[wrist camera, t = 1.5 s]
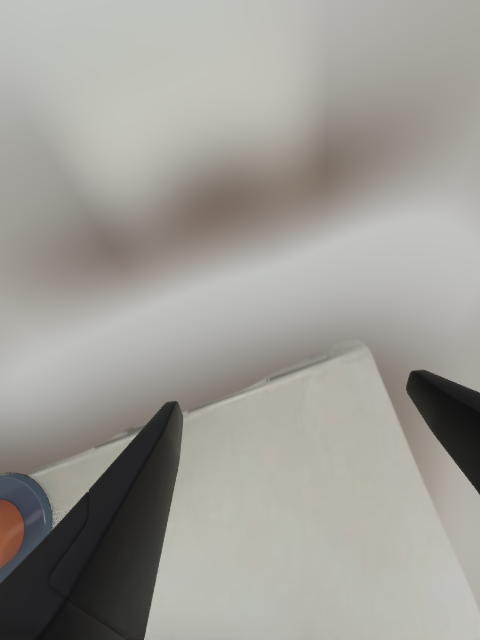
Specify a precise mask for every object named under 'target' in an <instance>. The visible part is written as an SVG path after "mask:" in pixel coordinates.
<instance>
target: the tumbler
mask: <svg viewBox="0 0 480 640" xmlns="http://www.w3.org/2000/svg"><path fill="white" fill-rule="evenodd" d="M23 537H24V522H23V518H22V515H21V513H20V511H19V510H18V508H17V507H16V506H15V505H14V504H12V503H11V502H9V501H7V500H3V499H0V570H1V569H2V568H3V567H5V566H6V565H7V564H8V563H9V562H10V561H11V560H12V559H13V558H14V557H15V556H16V554H17V553H18V551H19V549H20V547H21V544H22V541H23Z"/></svg>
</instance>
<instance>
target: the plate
mask: <svg viewBox="0 0 480 640" xmlns="http://www.w3.org/2000/svg"><path fill="white" fill-rule="evenodd" d="M0 499H3V500H7V501H9V502H11V503H12V504H14V505H15V506H16V507H17V508H18V510H19V511H20V513H21V515H22V518H23V522H24V537H23V541H22V544H21V547H20V549H19V551H18V553H17V554H16V556H15V557H14V558H13V559H12V560H11V561H10V562H9V563H8V564H7V565H6V566H5V567H3V568H2V569H1V570H0V583H1V582H2V581H3V580H4V579H5V578H6V577H7V576H8V575H9V574H10V573H11V572H12V571H13V570H14V569H15V568H16V567H17V566H18V565H19V564H20V563H21V562H22V561H23V560H24V559H25V558H26V557H27V556H28V555H29V554H30V553H31V551H32V550H33V549H34V548H35V547H36V546H37V545H38V544H39V543H40V542H41V541H42V540H43V539H44V538H45V537H46V536H47V535H48V534H49V533H50V532H51V529H52V514H51V508H50V504H49V501H48V499H47V496H46V494H45V493H44V491H43V490H42V488H41V487H40V486H39V485H38V484H37V483H36V482H35V481H34V480H33V479H31V478H29V477H28V476H25V475H23V474H19V473H11V472H10V473H1V474H0Z"/></svg>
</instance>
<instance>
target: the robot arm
mask: <svg viewBox="0 0 480 640" xmlns="http://www.w3.org/2000/svg"><path fill="white" fill-rule="evenodd" d="M406 390H407V393H408V395H409V396H410V398H411V399H412V401H413V403H414V404H415V405H416V407H417V409H418V411H419V412H420V414H421V415H422V417H423V418H424V420H425V422H426V423H427V425H428V426H429V428H430V429H431V431H432V432H433V434H434V435H435V436H436V438H437V439H438V440H439V441H440V443H441V444H442V446H443V447H444V448H445V450H446V451H447V452H448V453H449V455H450V456H451V457H452V459H453V460H454V461H455V463H456V464H457V465H458V466H459V468H460V469H461V470H462V472H463V473H464V474H465V476H466V477H467V478H468V480H469V481H470V482H471V483H472V485H473V486H474V487H475V489H476V490H477V491H478V493H479V494H480V393H479V392H477V391H474V390H472V389H469V388H467V387H465V386H462V385H460V384H457V383H455V382H452V381H450V380H448V379H445V378H443V377H440V376H438V375H435V374H433V373H430V372H428V371H426V370H416V371H411V373H410V375H409V378H408V382H407V385H406ZM182 428H183V415H182V412H181V409H180V406H179V404H178V402H177V401H171V402H167V403H165V404H164V405H163V406H162V408H161V409H160V410H159V411H158V412H157V414H155V416H154V417H153V418H152V419H151V420H150V421H149V422H148V423H147V425H146V426H145V427H144V428H143V429H142V430H141V431H140V433H139V434H138V435H137V436H136V437H135V438H134V439H133V440H132V442H131V443H130V444H129V445H128V446H127V447H126V448H125V449H124V451H123V452H122V453H121V454H120V455H119V456H118V457H117V459H116V460H115V461H114V462H113V463H112V464H111V465H110V466H109V468H108V469H107V470H106V471H105V472H104V473H103V474H102V476H101V477H100V478H99V479H98V480H97V481H96V482H95V483H94V485H93V486H92V487H91V488H90V489H89V492H87V493H86V494H85V495H84V496H83V497H82V498H81V499H80V500H79V501H78V503H77V504H76V505H75V506H74V507H73V508H72V509H71V510H70V511H69V513H68V514H67V515H66V516H65V517H64V518H63V519H62V520H61V521H60V522H59V523H58V525H57V526H56V527H55V528H54V529H53V530H52V531H51V532H50V533H49V534H48V535H47V536H46V537H45V538H44V539H43V540H42V541H41V542H40V543H39V544H38V545H37V546H36V547H35V548H34V549H33V550H32V551H31V553H30V554H29V555H28V556H27V557H26V558H25V559H24V560H23V561H22V562H21V563H20V564H19V565H18V566H17V567H16V568H15V569H14V570H13V571H12V572H11V573H10V574H9V575H8V576H7V577H6V578H5V579H4V580H3V581H2V582H1V583H0V640H144V637H145V632H146V627H147V622H148V617H149V612H150V607H151V602H152V597H153V592H154V587H155V582H156V577H157V572H158V567H159V562H160V557H161V552H162V547H163V542H164V537H165V532H166V526H167V521H168V516H169V511H170V506H171V501H172V496H173V491H174V486H175V481H176V476H177V471H178V466H179V459H180V449H181V439H182Z"/></svg>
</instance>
